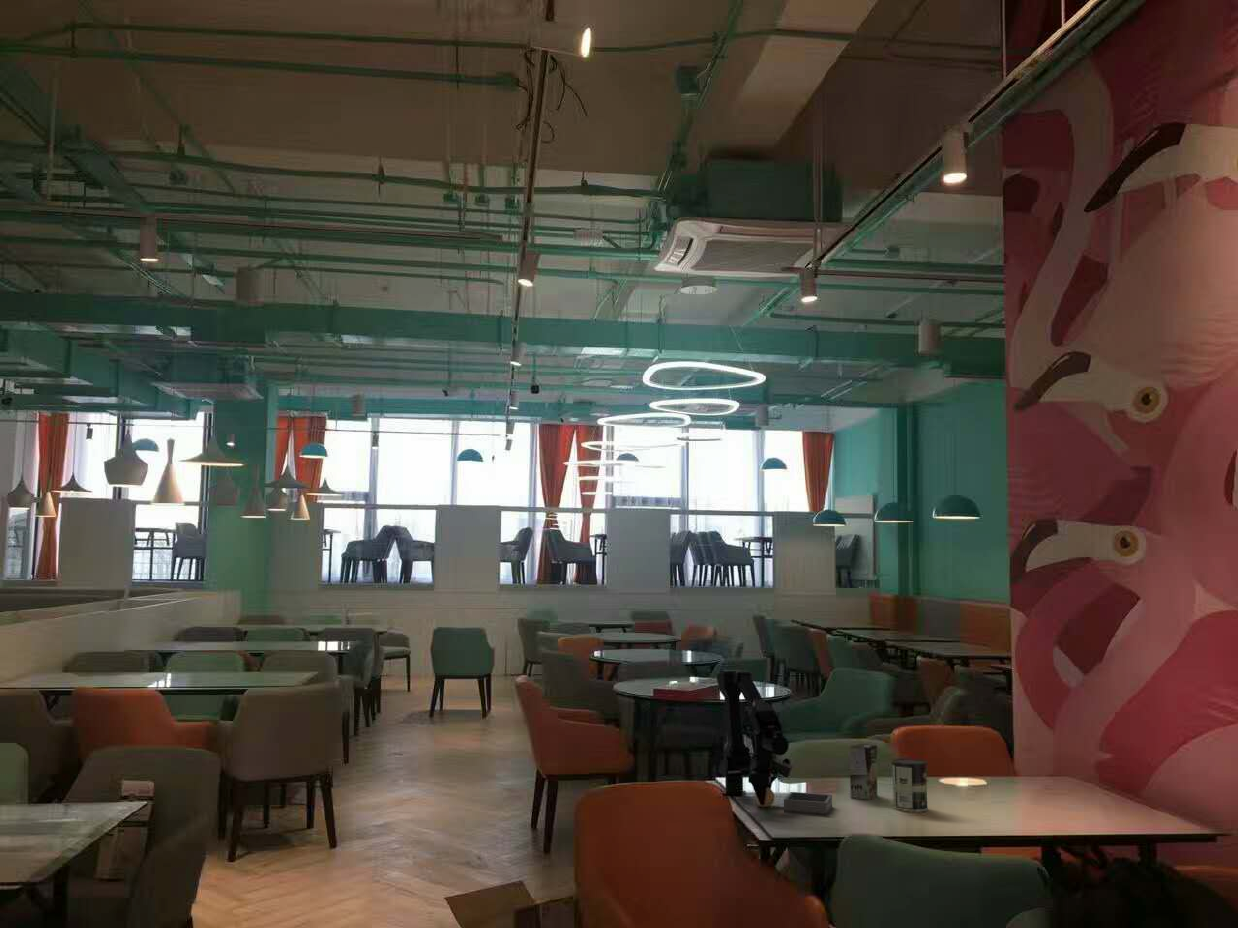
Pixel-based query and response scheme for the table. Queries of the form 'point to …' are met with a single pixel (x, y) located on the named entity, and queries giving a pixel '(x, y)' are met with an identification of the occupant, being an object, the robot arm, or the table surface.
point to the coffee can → (909, 785)
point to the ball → (768, 799)
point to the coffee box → (863, 771)
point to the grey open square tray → (808, 803)
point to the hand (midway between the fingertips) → (764, 802)
